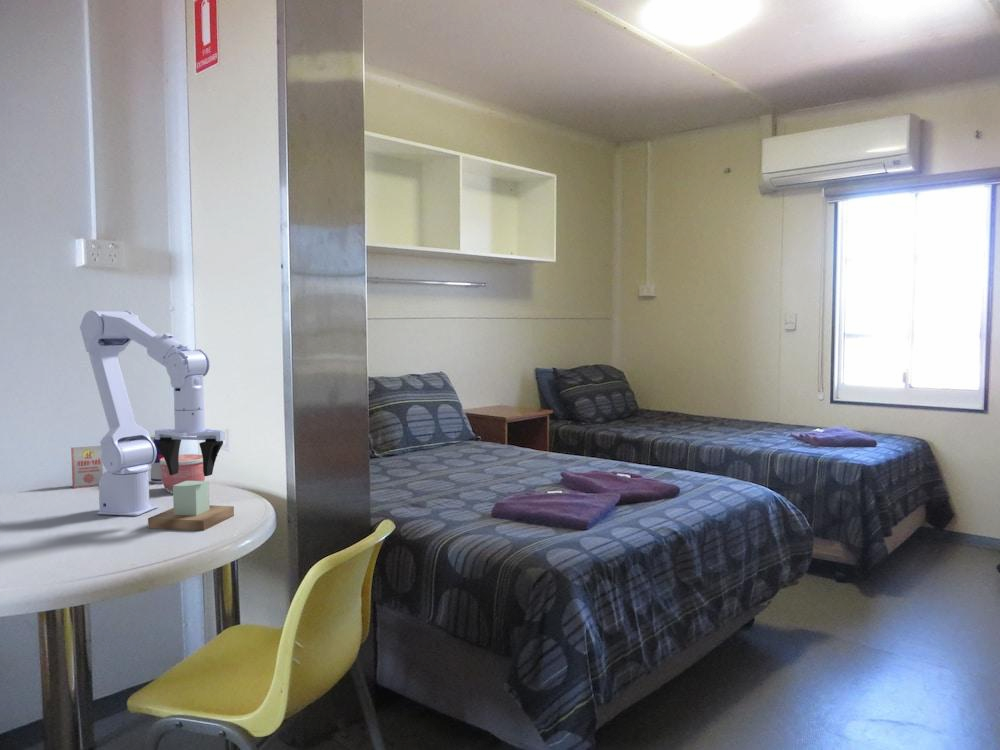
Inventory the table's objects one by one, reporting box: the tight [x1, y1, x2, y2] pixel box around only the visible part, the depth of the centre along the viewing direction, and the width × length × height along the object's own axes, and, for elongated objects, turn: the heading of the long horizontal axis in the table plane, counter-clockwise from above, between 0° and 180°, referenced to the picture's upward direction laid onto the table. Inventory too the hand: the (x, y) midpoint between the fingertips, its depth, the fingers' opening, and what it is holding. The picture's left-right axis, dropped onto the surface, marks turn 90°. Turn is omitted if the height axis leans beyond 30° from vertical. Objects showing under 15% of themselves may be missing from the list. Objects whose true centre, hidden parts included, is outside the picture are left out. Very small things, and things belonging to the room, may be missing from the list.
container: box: [160, 453, 206, 494], centre depth 188 cm, size 10×10×8 cm
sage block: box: [172, 480, 211, 516], centre depth 158 cm, size 5×5×6 cm
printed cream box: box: [70, 445, 104, 489], centre depth 194 cm, size 4×7×10 cm, turn 119°
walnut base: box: [147, 504, 235, 532], centre depth 158 cm, size 12×12×2 cm
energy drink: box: [149, 434, 164, 485], centre depth 198 cm, size 5×5×12 cm
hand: (191, 474), depth 158 cm, fingers open, 7 cm apart
